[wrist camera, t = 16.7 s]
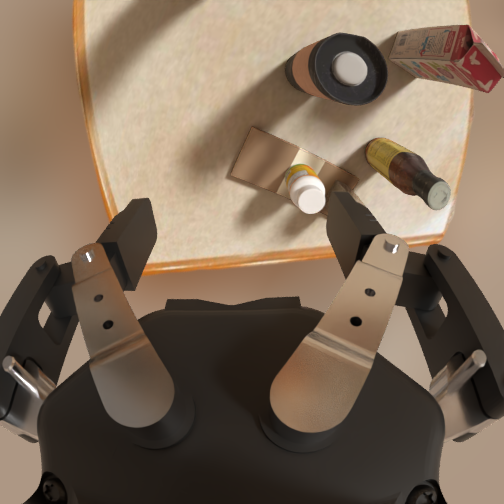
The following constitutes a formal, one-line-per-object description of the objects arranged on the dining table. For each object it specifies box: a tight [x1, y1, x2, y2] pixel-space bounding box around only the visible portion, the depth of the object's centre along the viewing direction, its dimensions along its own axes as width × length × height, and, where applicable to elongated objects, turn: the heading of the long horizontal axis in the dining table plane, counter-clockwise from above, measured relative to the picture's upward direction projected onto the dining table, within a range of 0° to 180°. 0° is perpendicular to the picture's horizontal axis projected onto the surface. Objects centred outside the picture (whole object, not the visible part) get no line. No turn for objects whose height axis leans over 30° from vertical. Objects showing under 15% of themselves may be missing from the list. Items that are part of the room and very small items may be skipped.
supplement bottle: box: [285, 163, 325, 214], centre depth 41 cm, size 5×5×10 cm
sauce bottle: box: [365, 138, 451, 210], centre depth 35 cm, size 7×6×20 cm
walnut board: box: [231, 127, 359, 215], centre depth 45 cm, size 21×9×1 cm, turn 66°
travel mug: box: [285, 33, 388, 105], centre depth 27 cm, size 8×8×20 cm
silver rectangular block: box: [324, 179, 366, 211], centre depth 43 cm, size 3×5×8 cm, turn 156°
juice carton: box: [388, 25, 504, 93], centre depth 22 cm, size 7×7×22 cm
